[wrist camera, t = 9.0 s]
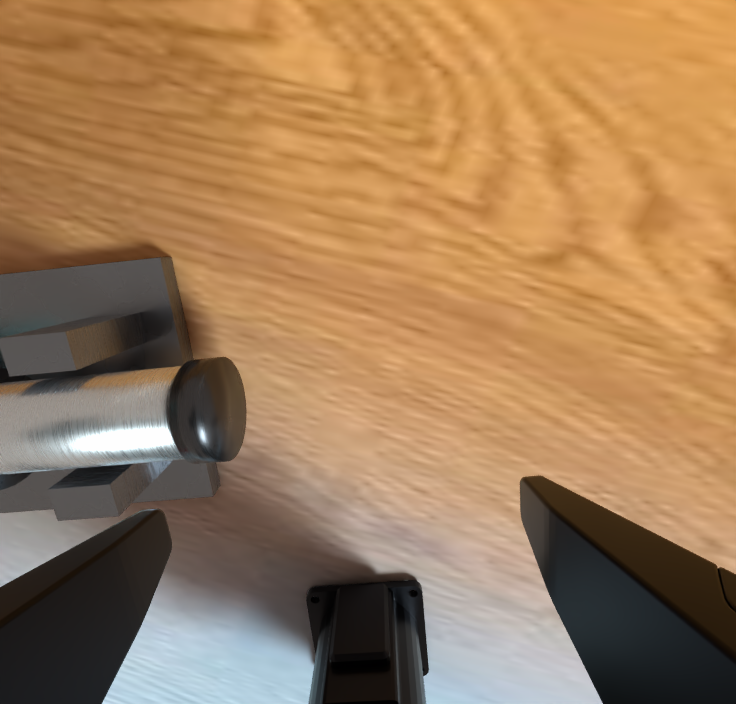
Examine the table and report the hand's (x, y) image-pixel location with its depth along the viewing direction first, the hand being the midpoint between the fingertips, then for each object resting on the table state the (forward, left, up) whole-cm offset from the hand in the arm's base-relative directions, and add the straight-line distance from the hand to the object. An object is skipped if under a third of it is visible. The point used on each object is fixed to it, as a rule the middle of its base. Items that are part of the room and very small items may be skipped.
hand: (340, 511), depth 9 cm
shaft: (0, +17, -9) cm, 19 cm away
